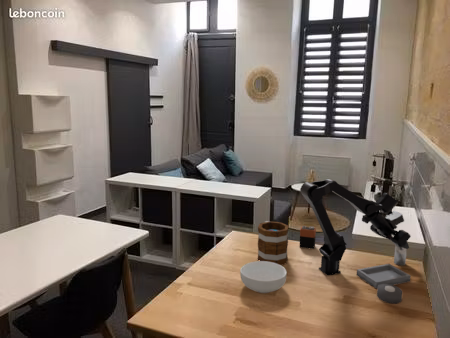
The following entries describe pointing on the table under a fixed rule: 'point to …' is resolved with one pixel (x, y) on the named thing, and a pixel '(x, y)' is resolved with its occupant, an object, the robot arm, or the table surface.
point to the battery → (307, 237)
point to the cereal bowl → (263, 276)
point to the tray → (383, 275)
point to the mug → (273, 242)
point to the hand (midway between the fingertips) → (400, 244)
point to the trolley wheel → (389, 293)
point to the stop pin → (400, 255)
